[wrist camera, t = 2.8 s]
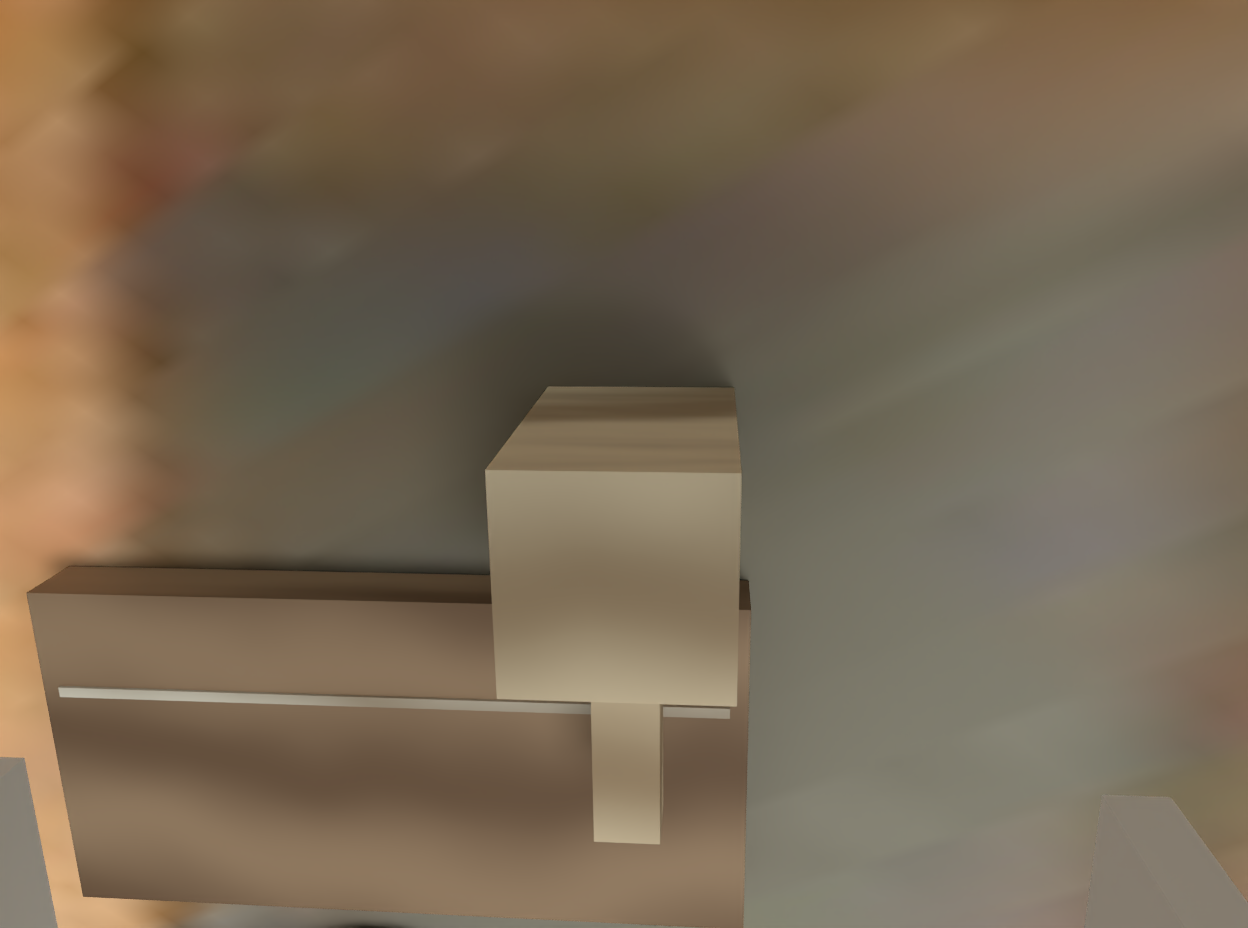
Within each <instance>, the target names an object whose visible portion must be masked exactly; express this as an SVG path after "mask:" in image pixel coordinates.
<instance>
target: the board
mask: <svg viewBox="0 0 1248 928" xmlns="http://www.w3.org/2000/svg"><path fill="white" fill-rule="evenodd" d="M27 599H28V604H29V609H30V615H31V620H32V625H33V631H34V636H35V641H36V647H37V652H38V658H39V663H40V668H41V674H42V679H43V684H44V690H45V695H46V700H47V706H48V711H49V716H50V722H51V727H52V732H53V738H54V743H55V748H56V754H57V759H58V765H59V770H60V775H61V781H62V786H63V791H64V797H65V802H66V807H67V813H68V818H69V823H70V829H71V834H72V839H73V845H74V850H75V855H76V861H77V866H78V872H79V877H80V882H81V888H82V893H83V897H101V898H121V899H141V900H161V901H181V902H201V903H221V904H242V905H262V906H282V907H302V908H322V909H342V910H362V911H382V912H402V913H422V914H442V915H463V916H483V917H503V918H523V919H543V920H563V921H583V922H603V923H623V924H643V925H664V926H684V927H704V928H743V918H744V877H745V836H746V795H747V753H748V712H749V671H750V630H751V604H750V592H749V581H741V580H739V628H738V676H737V707H733V706H702V705H670V704H663V814H662V826H661V839H660V844H637V843H614V842H594V821H593V778H592V735H591V702H575V701H543V700H512V699H497V693H496V673H495V654H494V634H493V615H492V595H491V576H490V575H460V574H414V573H367V572H320V571H274V570H227V569H180V568H134V567H87V566H69V567H67V568H66V569H64V570H63V571H61V572H59V573H58V574H56V575H54V576H53V577H51V578H50V579H48V580H46V581H45V582H43V583H42V584H40V585H38V586H37V587H35V588H34V589H32V590H30V591H29V592H27Z"/></svg>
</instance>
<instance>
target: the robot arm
mask: <svg viewBox="0 0 1248 928" xmlns="http://www.w3.org/2000/svg"><path fill="white" fill-rule="evenodd" d="M0 928H58V926H57V921H56V916H55V911H54V906H53V901H52V896H51V891H50V886H49V881H48V876H47V871H46V866H45V861H44V856H43V851H42V846H41V841H40V836H39V830H38V825H37V820H36V815H35V810H34V805H33V800H32V795H31V790H30V785H29V780H28V775H27V770H26V765H25V760H24V758H9V757H0ZM1084 928H1248V902H1247V901H1246V900H1245V898H1244V897H1243V895H1242V894H1241V893H1240V891H1239V890H1238V889H1237V887H1236V886H1235V885H1234V883H1233V882H1232V880H1231V879H1230V878H1229V876H1228V875H1227V874H1226V872H1225V871H1224V869H1223V868H1222V867H1221V865H1220V864H1219V863H1218V861H1217V860H1216V858H1215V857H1214V856H1213V854H1212V853H1211V852H1210V850H1209V849H1208V848H1207V846H1206V845H1205V843H1204V842H1203V841H1202V839H1201V838H1200V837H1199V835H1198V834H1197V832H1196V831H1195V830H1194V828H1193V827H1192V826H1191V824H1190V823H1189V821H1188V820H1187V819H1186V817H1185V816H1184V815H1183V813H1182V812H1181V811H1180V809H1179V808H1178V806H1177V805H1176V804H1175V802H1174V801H1173V800H1172V798H1171V797H1151V796H1122V795H1102V798H1101V806H1100V813H1099V821H1098V828H1097V836H1096V843H1095V851H1094V859H1093V866H1092V874H1091V881H1090V889H1089V897H1088V904H1087V912H1086V919H1085V927H1084Z"/></svg>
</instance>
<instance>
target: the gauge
mask: <svg viewBox="0 0 1248 928" xmlns="http://www.w3.org/2000/svg"><path fill="white" fill-rule="evenodd" d="M485 478H486V498H487V517H488V537H489V556H490V576H491V595H492V615H493V634H494V654H495V673H496V693H497V699H512V700H543V701H575V702H591V735H592V778H593V821H594V842H614V843H637V844H660V839H661V826H662V814H663V704H670V705H702V706H733V707H737V676H738V628H739V580H740V531H741V483H742V471H741V460H740V448H739V437H738V426H737V415H736V403H735V392H734V388H725V387H552V386H548V387H547V389H546V390H545V391H544V393H543V394H542V395H541V397H540V398H539V399H538V401H537V402H536V403H535V404H534V406H533V407H532V408H531V410H530V411H529V412H528V414H527V415H526V416H525V418H524V419H523V420H522V422H521V423H520V424H519V426H518V427H517V428H516V430H515V431H514V432H513V434H512V435H511V436H510V438H509V439H508V440H507V442H506V443H505V444H504V446H503V447H502V448H501V450H500V451H499V452H498V454H497V455H496V456H495V458H494V459H493V460H492V462H491V463H490V464H489V466H488V467H487V468H486V469H485Z"/></svg>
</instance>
